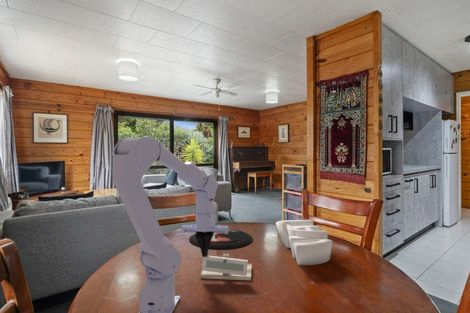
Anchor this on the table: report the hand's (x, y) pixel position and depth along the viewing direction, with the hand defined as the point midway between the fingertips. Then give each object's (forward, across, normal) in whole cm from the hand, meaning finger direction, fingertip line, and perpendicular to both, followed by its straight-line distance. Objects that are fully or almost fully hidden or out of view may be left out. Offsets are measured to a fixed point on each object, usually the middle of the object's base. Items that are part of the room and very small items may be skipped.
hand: (205, 255), depth 76 cm
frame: (+5, -6, 0) cm, 8 cm away
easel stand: (+8, -6, -5) cm, 11 cm away
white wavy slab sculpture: (+8, -34, -26) cm, 44 cm away
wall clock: (+8, +1, -38) cm, 39 cm away
